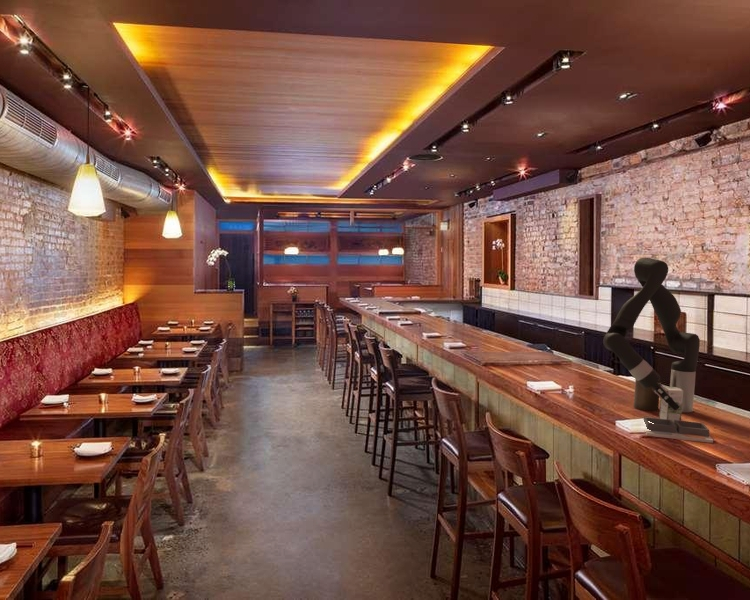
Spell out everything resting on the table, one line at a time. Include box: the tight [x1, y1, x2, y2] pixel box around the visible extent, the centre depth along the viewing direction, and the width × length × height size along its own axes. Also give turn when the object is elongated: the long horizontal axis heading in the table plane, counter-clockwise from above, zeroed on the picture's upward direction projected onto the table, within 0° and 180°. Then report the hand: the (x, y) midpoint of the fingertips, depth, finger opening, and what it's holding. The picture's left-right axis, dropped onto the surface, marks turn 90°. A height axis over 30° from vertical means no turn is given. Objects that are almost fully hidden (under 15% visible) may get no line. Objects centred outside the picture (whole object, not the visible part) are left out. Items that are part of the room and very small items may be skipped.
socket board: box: [642, 416, 714, 444], centre depth 214 cm, size 14×21×4 cm, turn 73°
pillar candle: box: [633, 378, 661, 412], centre depth 250 cm, size 10×10×15 cm
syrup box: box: [658, 386, 683, 423], centre depth 225 cm, size 6×6×14 cm
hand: (675, 406), depth 225 cm, fingers closed on syrup box, 7 cm apart
